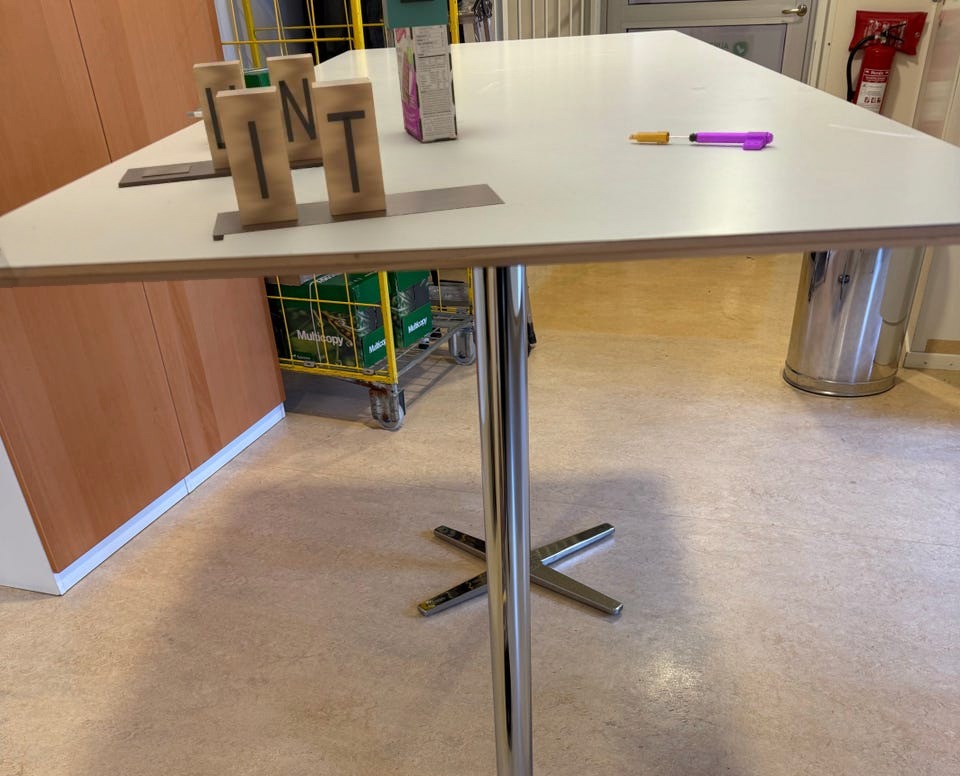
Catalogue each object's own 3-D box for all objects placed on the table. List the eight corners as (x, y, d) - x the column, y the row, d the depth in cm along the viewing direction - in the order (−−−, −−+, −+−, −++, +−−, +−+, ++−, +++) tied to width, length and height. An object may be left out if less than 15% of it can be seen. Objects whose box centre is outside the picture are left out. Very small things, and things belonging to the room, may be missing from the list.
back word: (118, 187, 102) (88, 79, 96) (128, 172, 109) (101, 70, 103) (350, 162, 105) (336, 56, 99) (345, 150, 112) (332, 49, 106)
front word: (213, 240, 80) (182, 103, 74) (218, 217, 87) (190, 90, 81) (505, 207, 83) (499, 72, 76) (487, 187, 90) (480, 63, 83)
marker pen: (774, 141, 97) (632, 140, 104) (774, 129, 96) (631, 129, 103) (766, 153, 96) (623, 151, 103) (766, 141, 95) (622, 139, 102)
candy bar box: (401, 131, 121) (385, -22, 111) (438, 127, 122) (426, -26, 112) (419, 144, 112) (404, -21, 102) (459, 139, 113) (447, -25, 103)
